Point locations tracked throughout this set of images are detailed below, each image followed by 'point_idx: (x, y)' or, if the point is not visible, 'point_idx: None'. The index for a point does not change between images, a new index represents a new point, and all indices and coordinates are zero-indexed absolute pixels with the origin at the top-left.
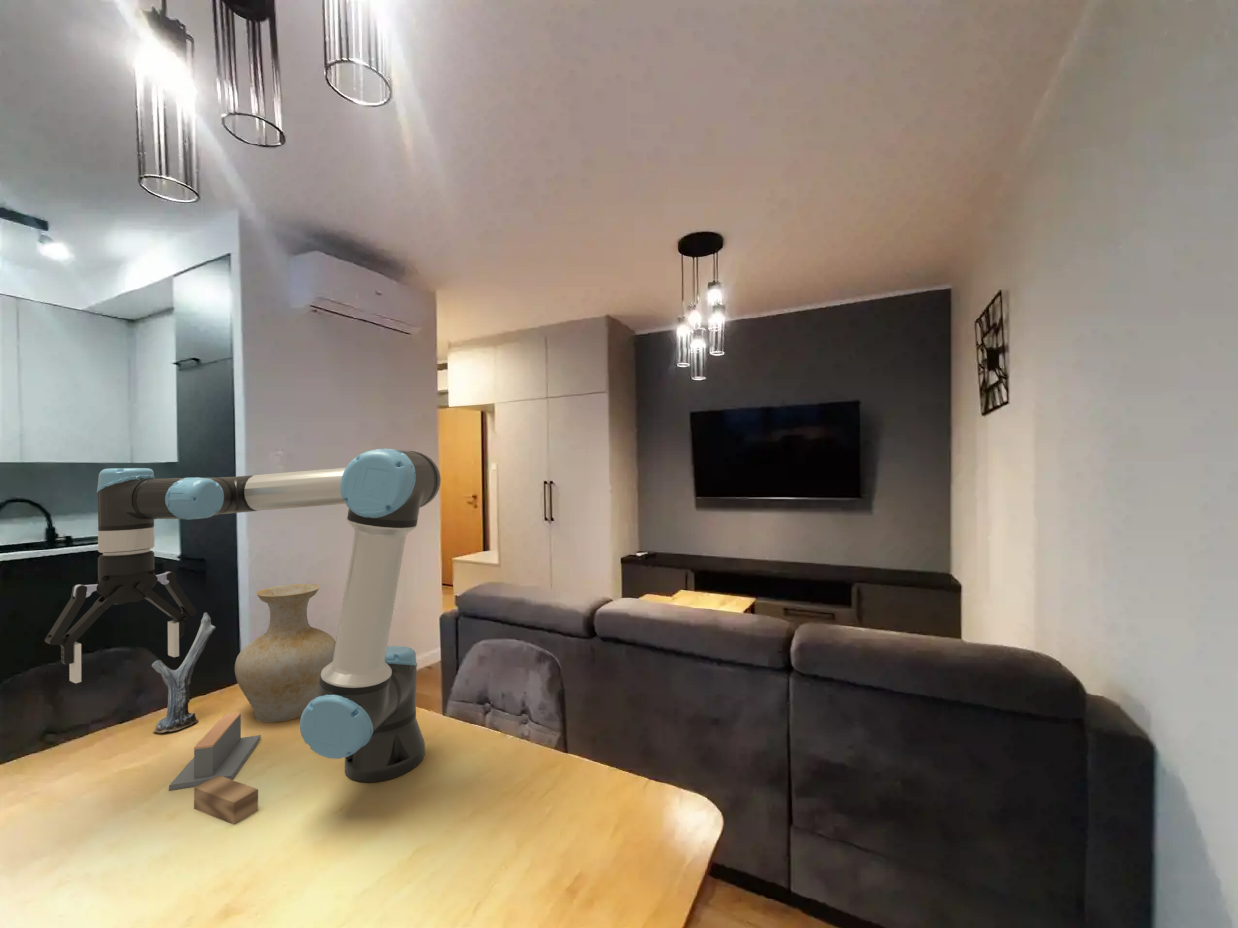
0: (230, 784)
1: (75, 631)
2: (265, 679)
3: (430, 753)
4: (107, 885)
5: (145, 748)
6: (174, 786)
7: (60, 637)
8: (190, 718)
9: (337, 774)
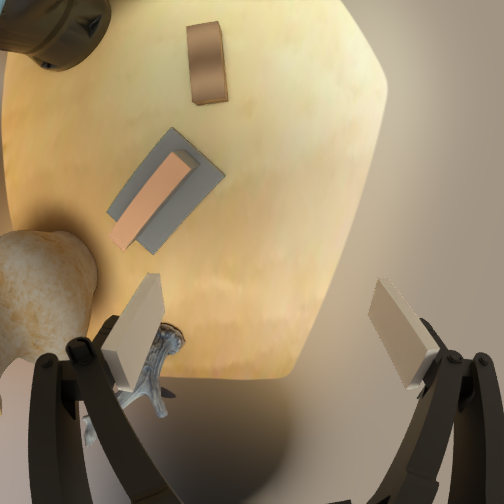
0: (196, 64)
1: (460, 385)
2: (58, 263)
3: None
4: (334, 47)
5: (202, 313)
6: (220, 171)
7: (479, 370)
8: None
9: (108, 39)
